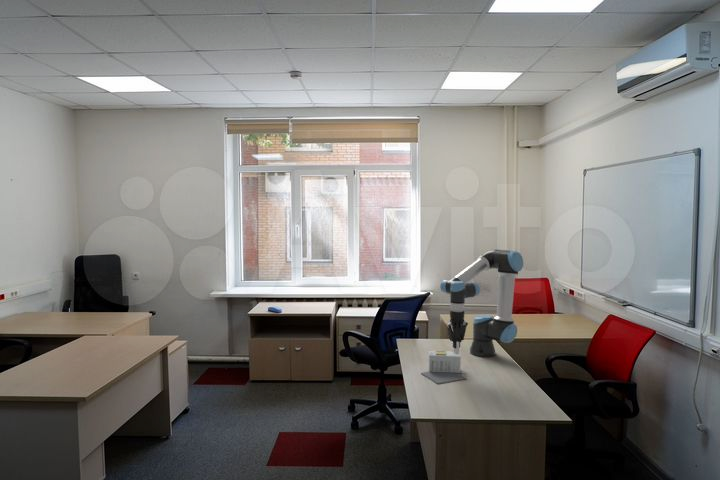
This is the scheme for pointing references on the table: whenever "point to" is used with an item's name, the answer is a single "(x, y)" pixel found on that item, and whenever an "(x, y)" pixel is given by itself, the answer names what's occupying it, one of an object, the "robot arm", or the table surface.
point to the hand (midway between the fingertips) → (456, 353)
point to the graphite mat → (443, 377)
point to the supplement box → (444, 361)
